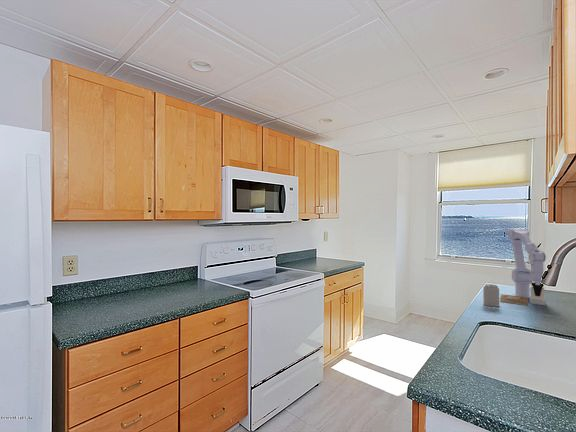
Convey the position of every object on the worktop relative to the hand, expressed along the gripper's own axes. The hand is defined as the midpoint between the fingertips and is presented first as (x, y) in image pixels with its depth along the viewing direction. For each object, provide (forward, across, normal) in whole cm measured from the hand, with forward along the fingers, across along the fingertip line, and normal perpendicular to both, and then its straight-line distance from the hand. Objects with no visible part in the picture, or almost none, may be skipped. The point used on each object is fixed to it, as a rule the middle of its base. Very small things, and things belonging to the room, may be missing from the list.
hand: (537, 295), depth 178 cm
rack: (+5, +3, -11) cm, 12 cm away
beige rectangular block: (+4, 0, 0) cm, 4 cm away
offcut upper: (+3, +6, -11) cm, 13 cm away
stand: (+5, 0, 0) cm, 5 cm away
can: (+5, +22, -21) cm, 31 cm away
